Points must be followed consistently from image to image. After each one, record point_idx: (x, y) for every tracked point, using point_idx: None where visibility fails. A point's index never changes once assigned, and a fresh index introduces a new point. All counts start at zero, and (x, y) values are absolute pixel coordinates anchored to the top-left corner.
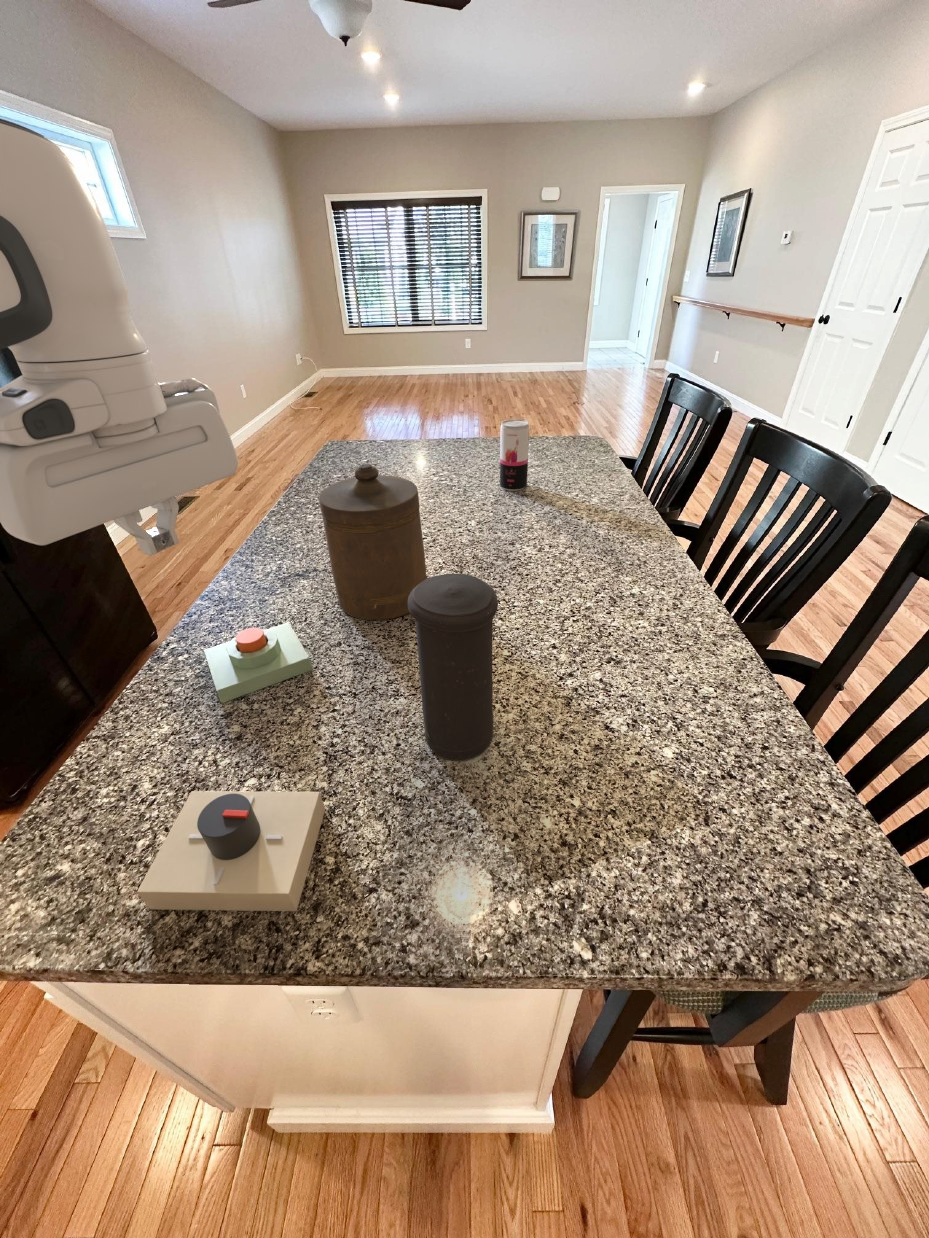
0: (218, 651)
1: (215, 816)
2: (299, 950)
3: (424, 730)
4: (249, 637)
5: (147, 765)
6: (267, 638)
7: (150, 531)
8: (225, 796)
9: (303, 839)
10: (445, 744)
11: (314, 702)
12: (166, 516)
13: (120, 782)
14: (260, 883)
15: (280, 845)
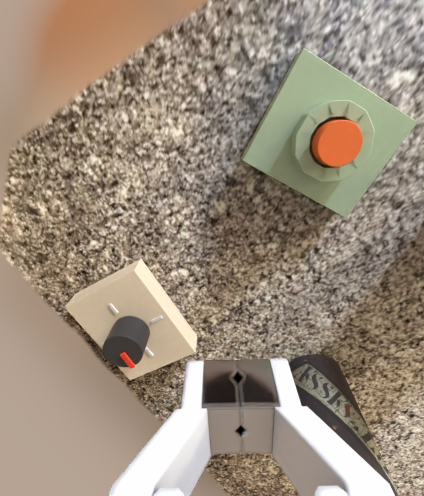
0: (309, 79)
1: (117, 349)
2: (123, 375)
3: (294, 368)
4: (334, 150)
5: (136, 167)
6: None
7: (236, 418)
8: (132, 341)
9: (160, 366)
10: None
11: (290, 252)
12: (307, 491)
13: (108, 163)
14: None
15: (147, 358)
